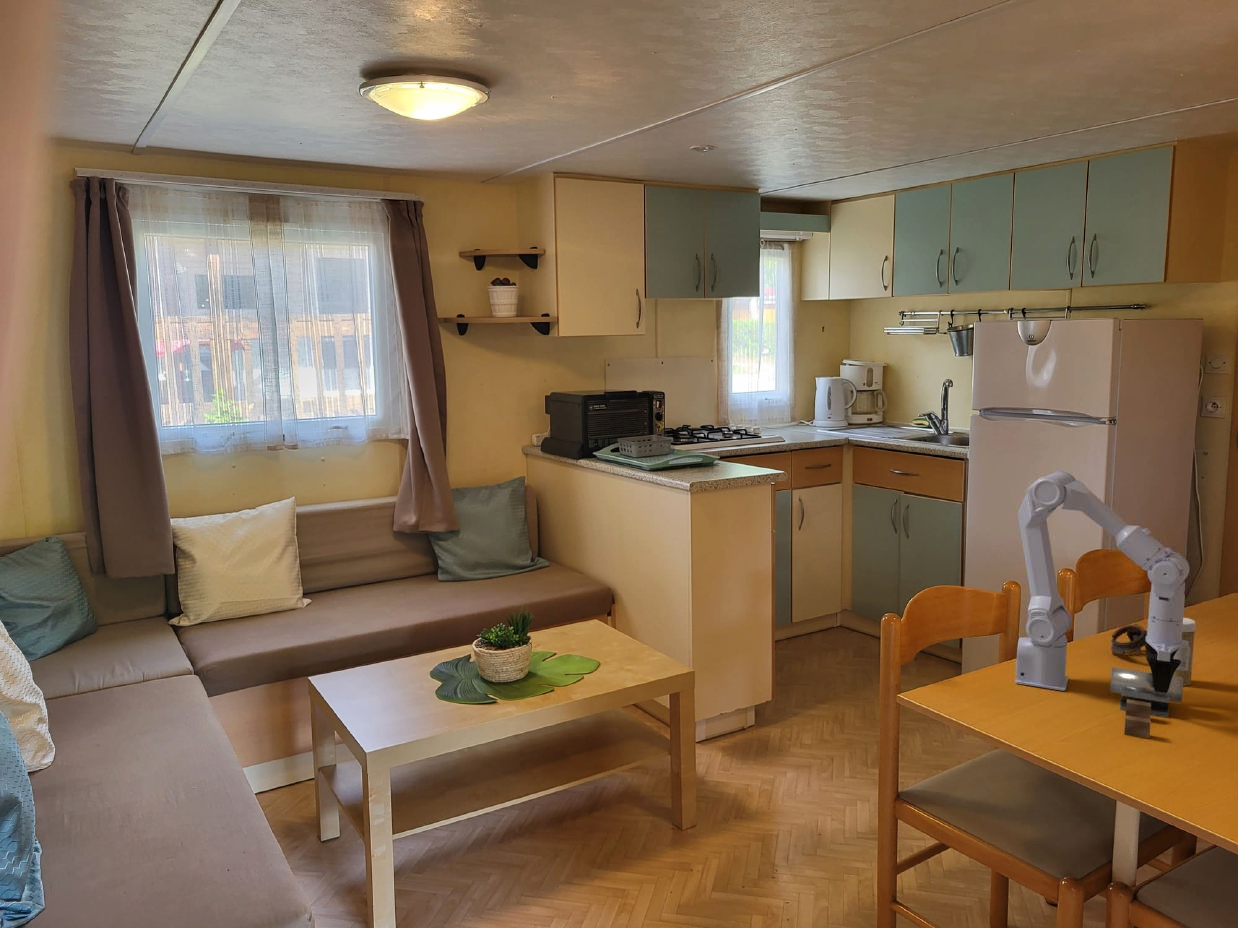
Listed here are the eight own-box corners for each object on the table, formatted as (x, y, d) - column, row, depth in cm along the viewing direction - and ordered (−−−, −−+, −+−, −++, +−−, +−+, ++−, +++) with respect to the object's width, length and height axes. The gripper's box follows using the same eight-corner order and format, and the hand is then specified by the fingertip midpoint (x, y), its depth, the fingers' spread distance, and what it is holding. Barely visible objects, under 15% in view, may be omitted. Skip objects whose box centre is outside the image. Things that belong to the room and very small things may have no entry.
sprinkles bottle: (1195, 682, 192) (1200, 620, 190) (1184, 688, 189) (1189, 624, 187) (1172, 676, 196) (1177, 614, 193) (1161, 681, 193) (1165, 619, 191)
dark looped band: (1169, 669, 201) (1152, 638, 199) (1123, 681, 205) (1107, 651, 204) (1160, 638, 211) (1145, 609, 209) (1117, 649, 216) (1101, 621, 214)
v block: (1120, 709, 180) (1121, 690, 179) (1121, 695, 187) (1122, 677, 186) (1168, 717, 176) (1169, 698, 175) (1167, 702, 183) (1169, 684, 182)
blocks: (1124, 734, 170) (1125, 718, 169) (1125, 713, 178) (1126, 699, 178) (1149, 738, 168) (1150, 723, 167) (1149, 717, 176) (1150, 702, 176)
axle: (1110, 694, 182) (1111, 671, 181) (1111, 686, 186) (1112, 663, 185) (1181, 706, 176) (1183, 682, 175) (1180, 697, 180) (1182, 673, 179)
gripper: (1191, 631, 169) (1185, 702, 171) (1189, 609, 181) (1184, 675, 184) (1146, 625, 172) (1142, 695, 175) (1147, 604, 185) (1143, 669, 187)
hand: (1160, 684), depth 179 cm, fingers open, 7 cm apart
